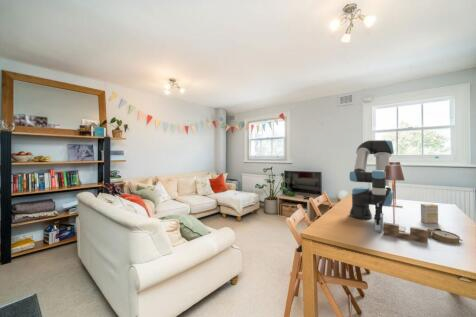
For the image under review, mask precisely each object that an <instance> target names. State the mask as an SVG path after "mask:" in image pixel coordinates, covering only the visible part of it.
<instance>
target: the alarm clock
mask: <svg viewBox="0 0 476 317" xmlns="http://www.w3.org/2000/svg"><path fill="white" fill-rule="evenodd" d="M426 229H427V230H428V238H433V239H434V240H437V241H440V242H442V243H446V244H460V241H461V242H462V241H463V239H460V238H461V237H460V236H459V235H458V234H455V233H453V232H450V231H447V230H442V229H441V228H438V227H436V228H433V229H431V228H426Z"/></svg>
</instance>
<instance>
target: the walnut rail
mask: <svg viewBox="0 0 476 317" xmlns="http://www.w3.org/2000/svg"><path fill="white" fill-rule="evenodd" d="M427 229H428V228H424V227H423V228H422V227H416V226H409V232H405V231H400V224H397V223H391V222H384V221H383V236H387V237H391V238H392V237H393V238H398V239H404V240H409V241H414V242H420V243H425V244H429V236H428V230H427Z"/></svg>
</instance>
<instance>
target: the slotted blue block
mask: <svg viewBox="0 0 476 317" xmlns="http://www.w3.org/2000/svg"><path fill="white" fill-rule="evenodd" d="M374 218H375V215H374ZM374 218H373V219H374ZM378 218H379V217H378ZM380 220H381V230H376V229H375V219H374V230H373V231H374V232H377V233H381V234H382V233H383V230H384V213H383V212H382V213H381V214H380Z"/></svg>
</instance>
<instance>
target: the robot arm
mask: <svg viewBox="0 0 476 317" xmlns="http://www.w3.org/2000/svg"><path fill="white" fill-rule="evenodd" d="M394 152H395V151H394V146H393V142H392V139H373V140H372V139H371V140H370V139H369V140H365V141H364V142H362V143H360V144H359V146H358V147H357V149H356V152H355V153H356V159H355V163H354V167H353V168H354V169H353V171H349V174H348V175H349V176H348V177H349V181H350V182H354V183H370V184H371V188H370V187H368V186H358V187H353V188H352V190H351V208H350V211H349V216H350V217H351V218H354V219H358V220H371V219H372V218H373V215H372V212H371V209H370V206H374V207H375V209H374V210H375V213H374V216H375V218H373V219H375V229H376V230H381V220H380V214H381V213H383V207H391V206H392V204H393V200H394V194H395V192H394V191H393V190H392V188H391V187H390V184H389V183H390V182H389V181H390V179H389V180H386V172H385V171H384V168H385V166H386V165H388V164H389V165H390V158H391V157H392V155H393V154H394ZM370 155H373V157H374V158H375V170H372V171H367V164H368V159H369V158H368V157H369V156H370ZM378 217H379V218H378Z"/></svg>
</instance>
